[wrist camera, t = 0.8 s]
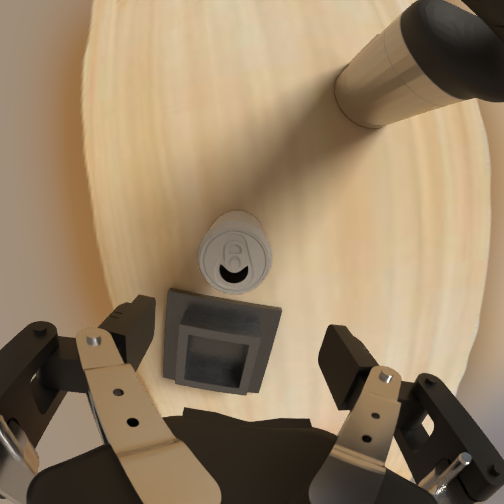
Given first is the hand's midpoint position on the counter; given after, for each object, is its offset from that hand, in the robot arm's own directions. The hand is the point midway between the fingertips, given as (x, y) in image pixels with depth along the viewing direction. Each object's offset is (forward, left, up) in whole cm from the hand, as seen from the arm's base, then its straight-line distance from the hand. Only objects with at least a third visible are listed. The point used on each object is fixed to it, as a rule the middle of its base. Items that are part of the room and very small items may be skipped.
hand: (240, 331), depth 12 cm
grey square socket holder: (+16, 0, -22) cm, 28 cm away
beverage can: (0, 0, -23) cm, 23 cm away
